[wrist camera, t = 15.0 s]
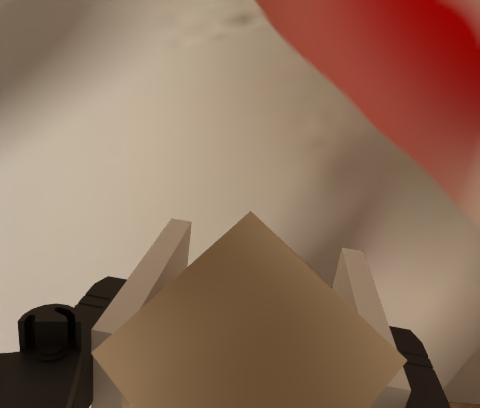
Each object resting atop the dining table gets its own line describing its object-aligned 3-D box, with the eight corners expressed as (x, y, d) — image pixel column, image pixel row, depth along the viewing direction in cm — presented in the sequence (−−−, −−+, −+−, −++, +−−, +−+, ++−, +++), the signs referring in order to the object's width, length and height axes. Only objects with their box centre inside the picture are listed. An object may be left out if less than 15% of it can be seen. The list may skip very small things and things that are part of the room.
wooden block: (239, 443, 19) (247, 556, 6) (183, 375, 20) (90, 352, 7) (299, 378, 20) (407, 360, 7) (242, 317, 21) (250, 210, 9)
